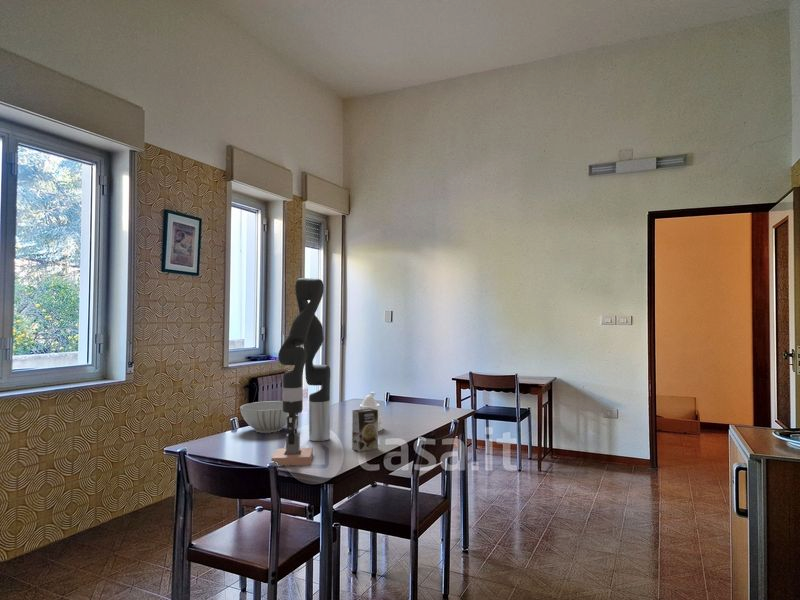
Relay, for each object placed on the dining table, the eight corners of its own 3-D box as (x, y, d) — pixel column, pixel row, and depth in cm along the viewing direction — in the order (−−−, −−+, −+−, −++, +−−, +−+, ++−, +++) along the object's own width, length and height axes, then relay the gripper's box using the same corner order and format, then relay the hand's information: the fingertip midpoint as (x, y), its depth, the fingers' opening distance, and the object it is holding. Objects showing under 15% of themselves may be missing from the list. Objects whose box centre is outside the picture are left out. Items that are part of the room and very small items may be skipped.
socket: (276, 456, 203) (276, 448, 203) (312, 455, 204) (312, 447, 204) (271, 466, 189) (271, 458, 189) (309, 465, 190) (309, 456, 190)
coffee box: (359, 452, 208) (359, 412, 208) (351, 449, 213) (351, 409, 214) (378, 448, 213) (378, 409, 214) (370, 445, 218) (370, 407, 219)
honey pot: (384, 426, 257) (383, 390, 258) (380, 432, 244) (380, 394, 245) (358, 426, 258) (358, 390, 259) (354, 431, 245) (353, 394, 246)
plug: (287, 459, 199) (287, 433, 199) (299, 458, 199) (299, 432, 200) (286, 462, 194) (286, 435, 195) (298, 462, 195) (298, 435, 195)
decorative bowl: (269, 439, 232) (269, 412, 233) (227, 433, 245) (227, 407, 246) (307, 427, 256) (307, 403, 256) (267, 422, 269) (267, 399, 269)
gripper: (285, 396, 204) (285, 437, 204) (280, 402, 190) (280, 446, 190) (304, 395, 205) (304, 436, 204) (300, 401, 191) (300, 445, 190)
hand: (292, 441), depth 197 cm, fingers open, 8 cm apart
